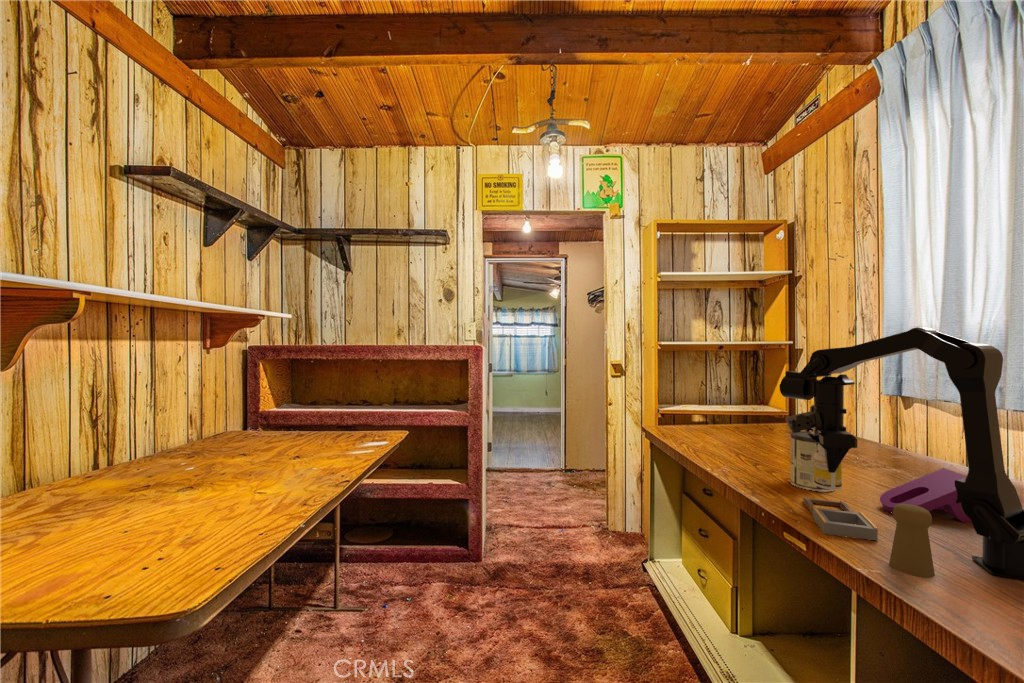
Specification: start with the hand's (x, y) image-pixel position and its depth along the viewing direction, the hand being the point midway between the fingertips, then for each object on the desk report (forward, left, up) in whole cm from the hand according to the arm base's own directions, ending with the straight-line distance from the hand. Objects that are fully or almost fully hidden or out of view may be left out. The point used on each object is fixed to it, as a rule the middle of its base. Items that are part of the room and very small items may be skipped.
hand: (827, 469), depth 106 cm
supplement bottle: (0, 0, -4) cm, 4 cm away
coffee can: (+19, -1, -10) cm, 21 cm away
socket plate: (-11, 0, -10) cm, 15 cm away
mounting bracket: (+6, -21, -10) cm, 24 cm away
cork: (-26, -6, -10) cm, 29 cm away
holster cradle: (0, 0, -10) cm, 10 cm away
